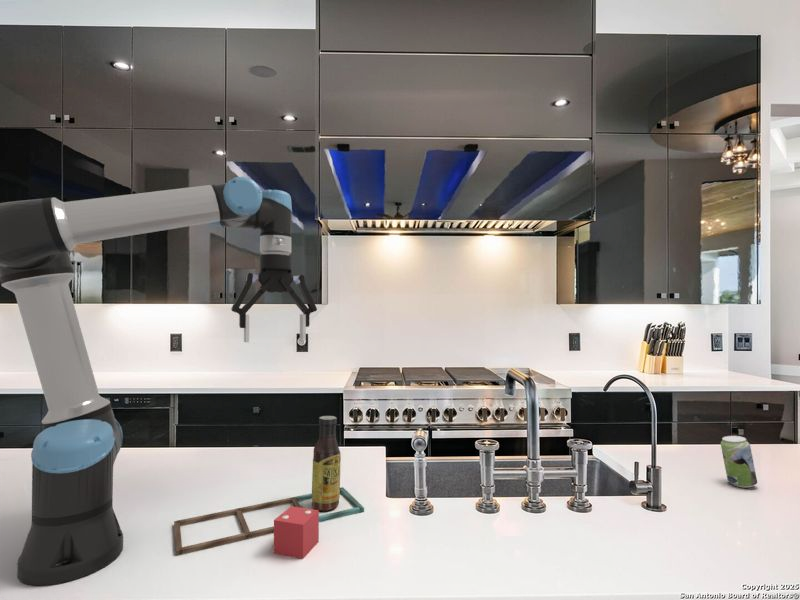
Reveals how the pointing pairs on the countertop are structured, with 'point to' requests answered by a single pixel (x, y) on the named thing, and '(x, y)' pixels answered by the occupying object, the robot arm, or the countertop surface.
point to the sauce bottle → (326, 467)
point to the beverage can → (738, 461)
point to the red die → (296, 532)
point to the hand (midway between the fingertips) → (275, 341)
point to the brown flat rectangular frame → (243, 524)
